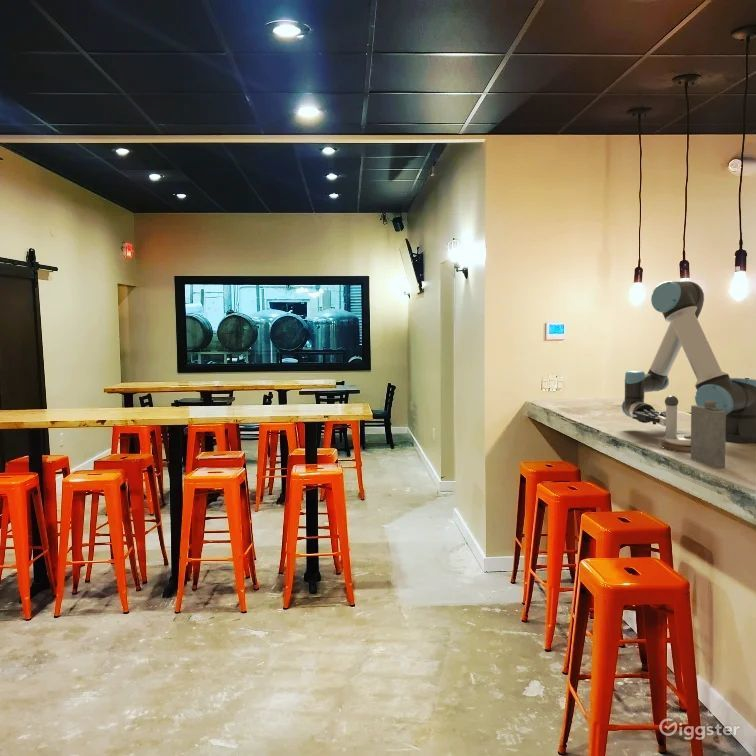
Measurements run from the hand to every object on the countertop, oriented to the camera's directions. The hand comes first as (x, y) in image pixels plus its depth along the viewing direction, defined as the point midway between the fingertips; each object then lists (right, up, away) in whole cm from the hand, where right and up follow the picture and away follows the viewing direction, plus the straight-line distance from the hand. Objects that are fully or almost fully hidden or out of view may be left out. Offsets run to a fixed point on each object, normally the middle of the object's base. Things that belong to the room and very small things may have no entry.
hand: (665, 422), depth 225 cm
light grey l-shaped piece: (+7, -7, -2) cm, 10 cm away
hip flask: (+2, -11, -25) cm, 28 cm away
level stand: (+8, -9, -2) cm, 12 cm away
